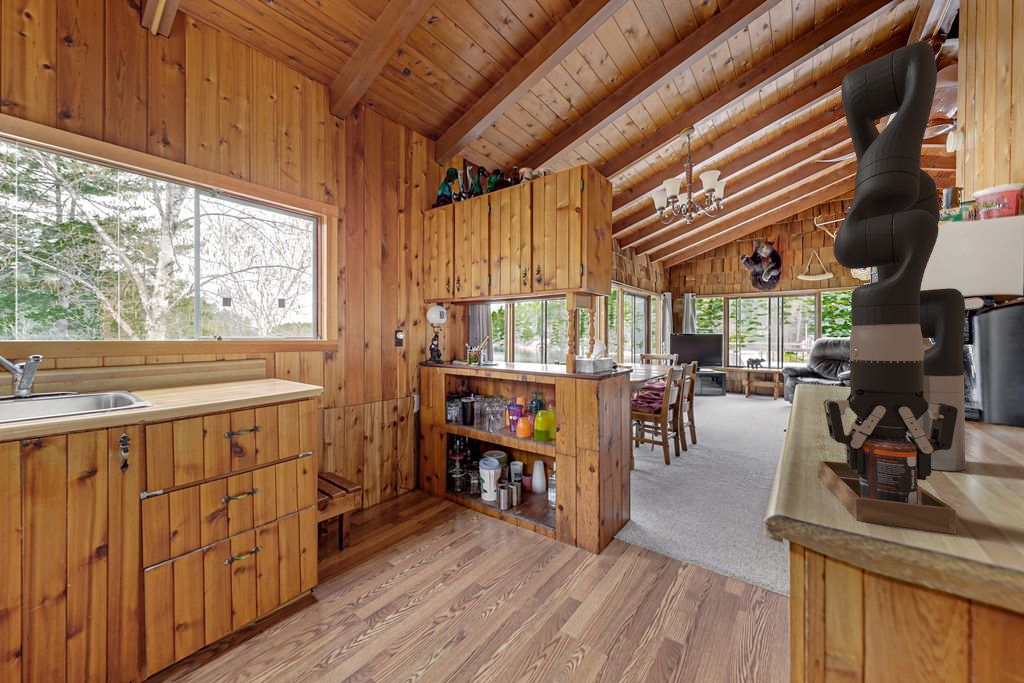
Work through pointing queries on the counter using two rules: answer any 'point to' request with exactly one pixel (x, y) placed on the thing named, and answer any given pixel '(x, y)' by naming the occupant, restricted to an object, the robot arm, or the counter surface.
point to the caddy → (886, 502)
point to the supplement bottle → (889, 466)
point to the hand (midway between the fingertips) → (887, 474)
